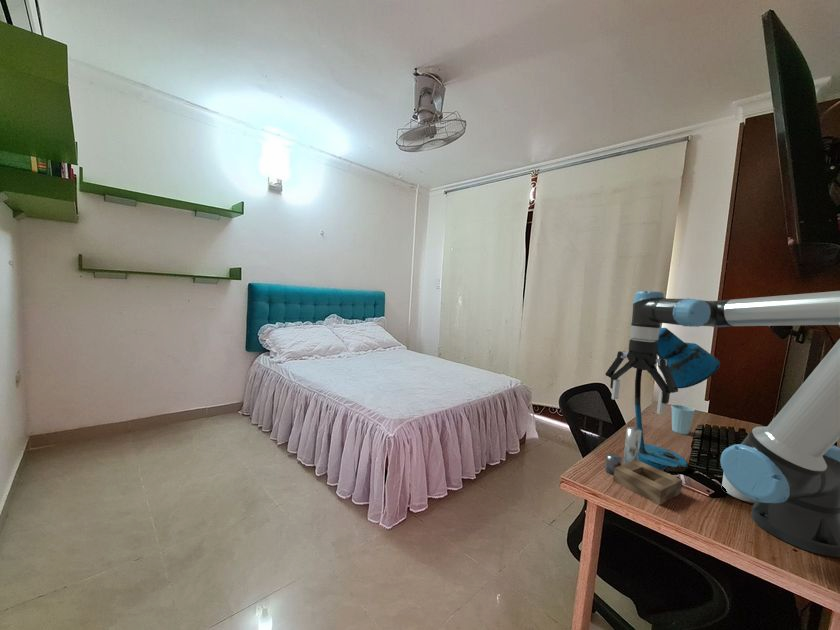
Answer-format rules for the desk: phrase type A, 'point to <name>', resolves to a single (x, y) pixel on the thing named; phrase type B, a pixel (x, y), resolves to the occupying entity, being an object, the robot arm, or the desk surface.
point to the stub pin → (612, 462)
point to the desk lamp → (687, 371)
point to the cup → (681, 418)
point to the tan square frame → (648, 481)
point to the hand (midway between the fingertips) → (636, 405)
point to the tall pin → (632, 444)
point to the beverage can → (734, 491)
